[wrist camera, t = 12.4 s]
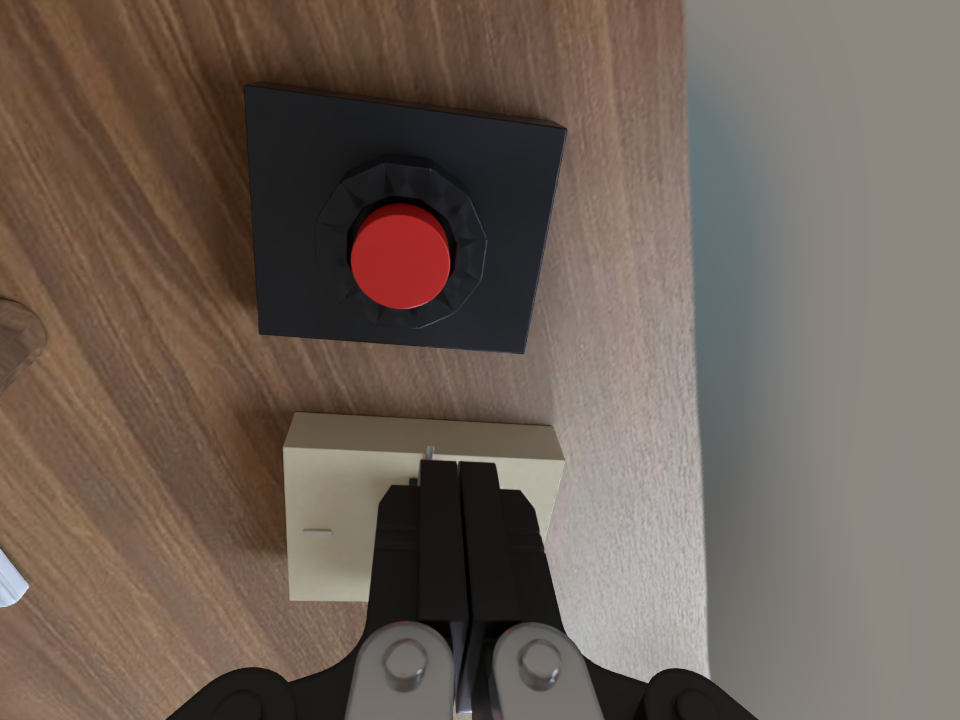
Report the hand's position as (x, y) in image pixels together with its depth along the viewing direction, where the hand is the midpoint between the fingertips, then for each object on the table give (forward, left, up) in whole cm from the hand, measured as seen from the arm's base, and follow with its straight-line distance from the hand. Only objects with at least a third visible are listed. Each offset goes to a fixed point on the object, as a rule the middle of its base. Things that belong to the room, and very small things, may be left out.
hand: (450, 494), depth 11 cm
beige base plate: (-1, +15, -17) cm, 22 cm away
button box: (+1, -1, -17) cm, 17 cm away
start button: (+1, -1, -13) cm, 13 cm away
